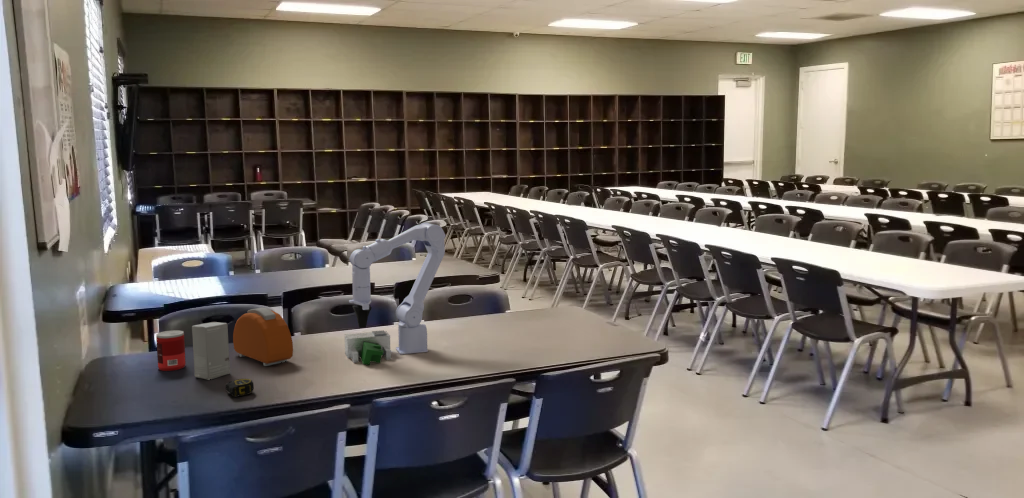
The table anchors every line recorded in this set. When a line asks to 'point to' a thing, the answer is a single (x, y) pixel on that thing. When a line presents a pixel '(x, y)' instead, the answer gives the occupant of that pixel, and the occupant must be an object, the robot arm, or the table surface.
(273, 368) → the table surface
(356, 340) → the motor housing
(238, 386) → the tape measure
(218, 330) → the skincare box
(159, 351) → the canned food
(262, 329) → the orange toaster
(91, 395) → the table surface
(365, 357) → the clamp
